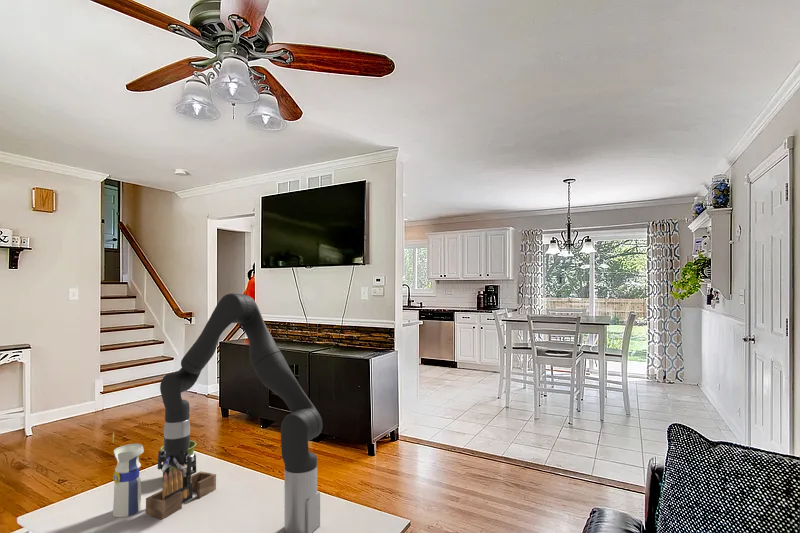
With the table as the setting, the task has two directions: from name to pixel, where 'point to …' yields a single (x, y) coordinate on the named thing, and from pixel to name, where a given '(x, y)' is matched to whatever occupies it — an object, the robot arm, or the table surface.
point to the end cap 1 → (163, 505)
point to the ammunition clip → (175, 486)
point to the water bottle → (127, 480)
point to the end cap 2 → (203, 483)
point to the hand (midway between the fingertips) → (176, 485)
